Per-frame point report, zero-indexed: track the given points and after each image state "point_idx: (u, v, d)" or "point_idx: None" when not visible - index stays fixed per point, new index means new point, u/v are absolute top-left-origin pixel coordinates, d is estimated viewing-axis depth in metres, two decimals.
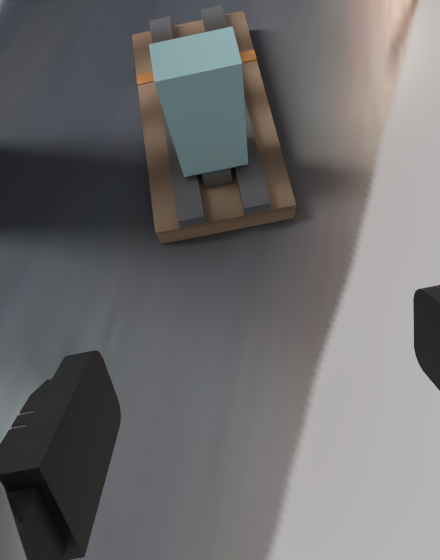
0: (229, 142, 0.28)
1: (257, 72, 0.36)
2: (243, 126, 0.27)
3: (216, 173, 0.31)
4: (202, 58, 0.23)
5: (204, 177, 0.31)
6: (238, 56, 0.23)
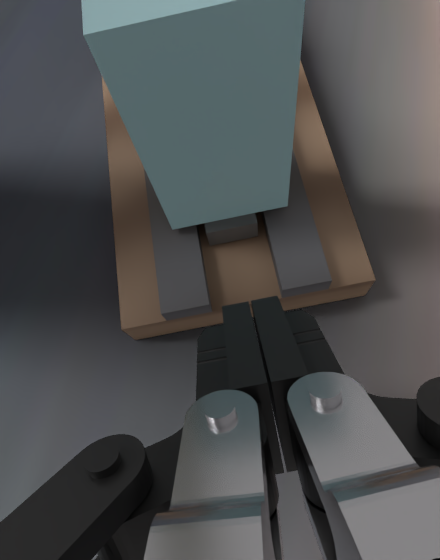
0: (258, 171, 0.15)
1: None
2: (288, 140, 0.13)
3: (231, 222, 0.17)
4: None
5: (209, 230, 0.17)
6: None
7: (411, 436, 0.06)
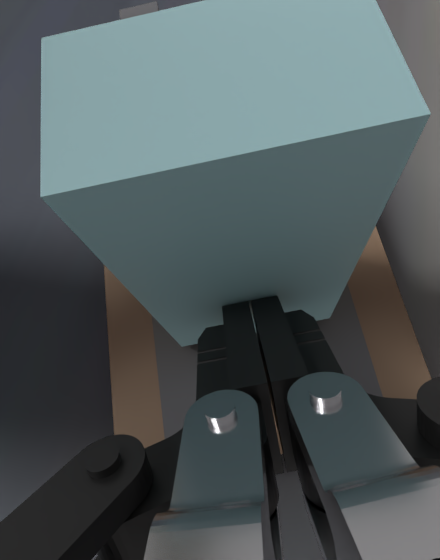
0: (299, 297, 0.11)
1: None
2: (347, 270, 0.09)
3: (257, 338, 0.13)
4: (248, 91, 0.05)
5: None
6: (406, 82, 0.05)
7: (411, 436, 0.06)
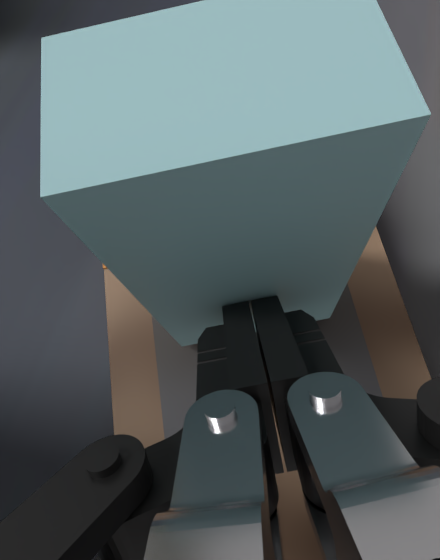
0: (299, 297, 0.11)
1: (377, 248, 0.15)
2: (347, 270, 0.09)
3: (257, 338, 0.13)
4: (249, 92, 0.05)
5: None
6: (407, 82, 0.05)
7: (411, 436, 0.06)
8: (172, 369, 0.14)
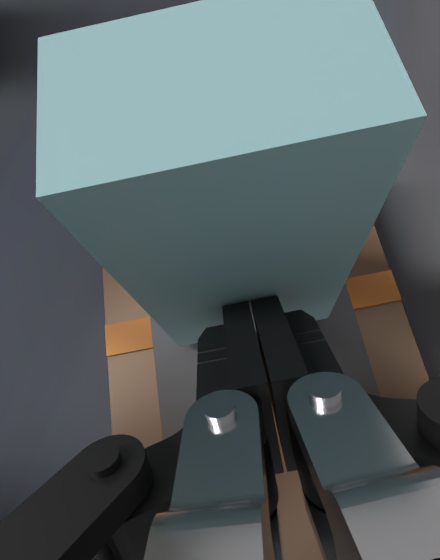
0: (297, 297, 0.11)
1: (408, 341, 0.14)
2: (344, 271, 0.09)
3: None
4: (245, 93, 0.05)
5: None
6: (403, 83, 0.05)
7: (410, 436, 0.06)
8: None
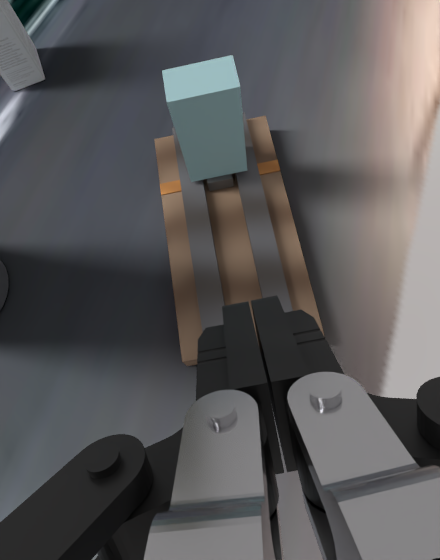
0: (230, 152, 0.33)
1: (281, 184, 0.36)
2: (242, 138, 0.31)
3: (220, 178, 0.35)
4: (207, 82, 0.27)
5: (209, 182, 0.35)
6: (237, 80, 0.27)
7: (411, 436, 0.06)
8: (193, 229, 0.34)
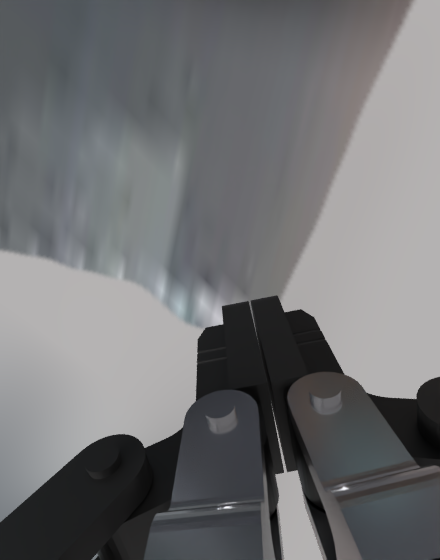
0: None
1: None
2: None
3: None
4: None
5: None
6: None
7: (410, 436, 0.06)
8: None
